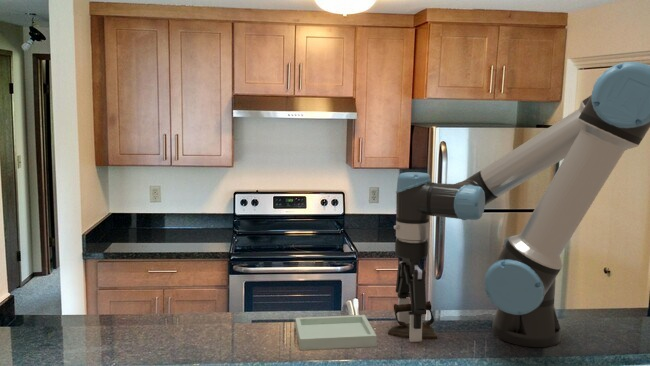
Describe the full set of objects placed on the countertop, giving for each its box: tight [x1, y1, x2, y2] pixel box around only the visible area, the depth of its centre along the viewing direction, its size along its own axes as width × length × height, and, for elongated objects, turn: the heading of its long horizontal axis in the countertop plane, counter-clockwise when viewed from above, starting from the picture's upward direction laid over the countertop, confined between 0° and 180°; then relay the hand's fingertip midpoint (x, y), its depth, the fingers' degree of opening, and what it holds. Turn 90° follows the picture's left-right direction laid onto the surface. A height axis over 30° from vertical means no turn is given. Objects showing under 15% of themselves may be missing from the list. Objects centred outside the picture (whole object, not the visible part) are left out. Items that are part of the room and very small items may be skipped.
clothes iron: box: [387, 300, 439, 340], centre depth 127 cm, size 7×11×10 cm, turn 96°
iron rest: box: [294, 314, 378, 351], centre depth 126 cm, size 17×13×2 cm
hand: (409, 332), depth 128 cm, fingers open, 9 cm apart
